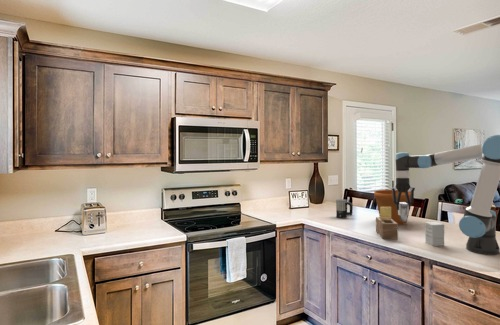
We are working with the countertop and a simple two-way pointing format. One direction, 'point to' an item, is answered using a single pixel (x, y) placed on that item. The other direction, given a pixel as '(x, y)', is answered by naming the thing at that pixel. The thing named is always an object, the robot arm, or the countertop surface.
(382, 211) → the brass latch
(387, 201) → the flowerpot
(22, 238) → the countertop surface
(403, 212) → the grey block
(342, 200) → the milk frother
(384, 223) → the socket block
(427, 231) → the supplement box
